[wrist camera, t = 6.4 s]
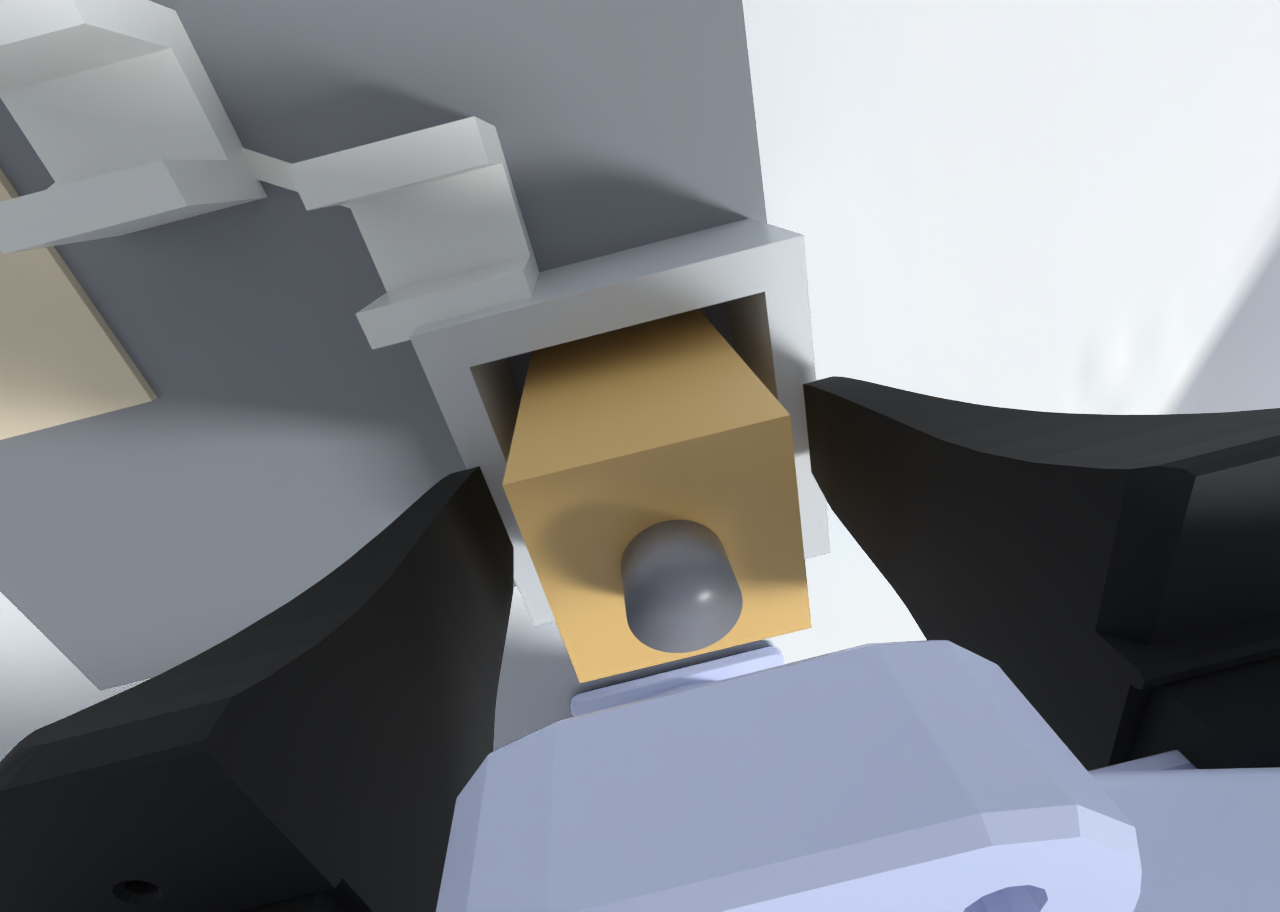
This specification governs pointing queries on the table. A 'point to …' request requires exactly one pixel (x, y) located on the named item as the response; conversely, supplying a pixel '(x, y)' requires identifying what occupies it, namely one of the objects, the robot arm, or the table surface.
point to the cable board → (338, 278)
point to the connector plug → (657, 496)
